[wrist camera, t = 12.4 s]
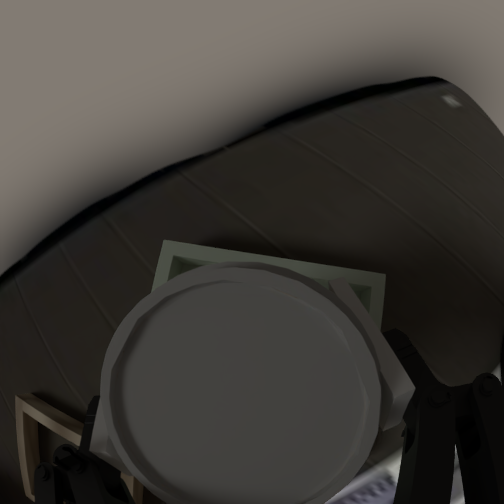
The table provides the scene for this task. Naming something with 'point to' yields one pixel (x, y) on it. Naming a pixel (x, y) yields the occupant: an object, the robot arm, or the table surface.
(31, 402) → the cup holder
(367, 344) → the disposable coffee cup
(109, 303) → the table surface
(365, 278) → the tray
